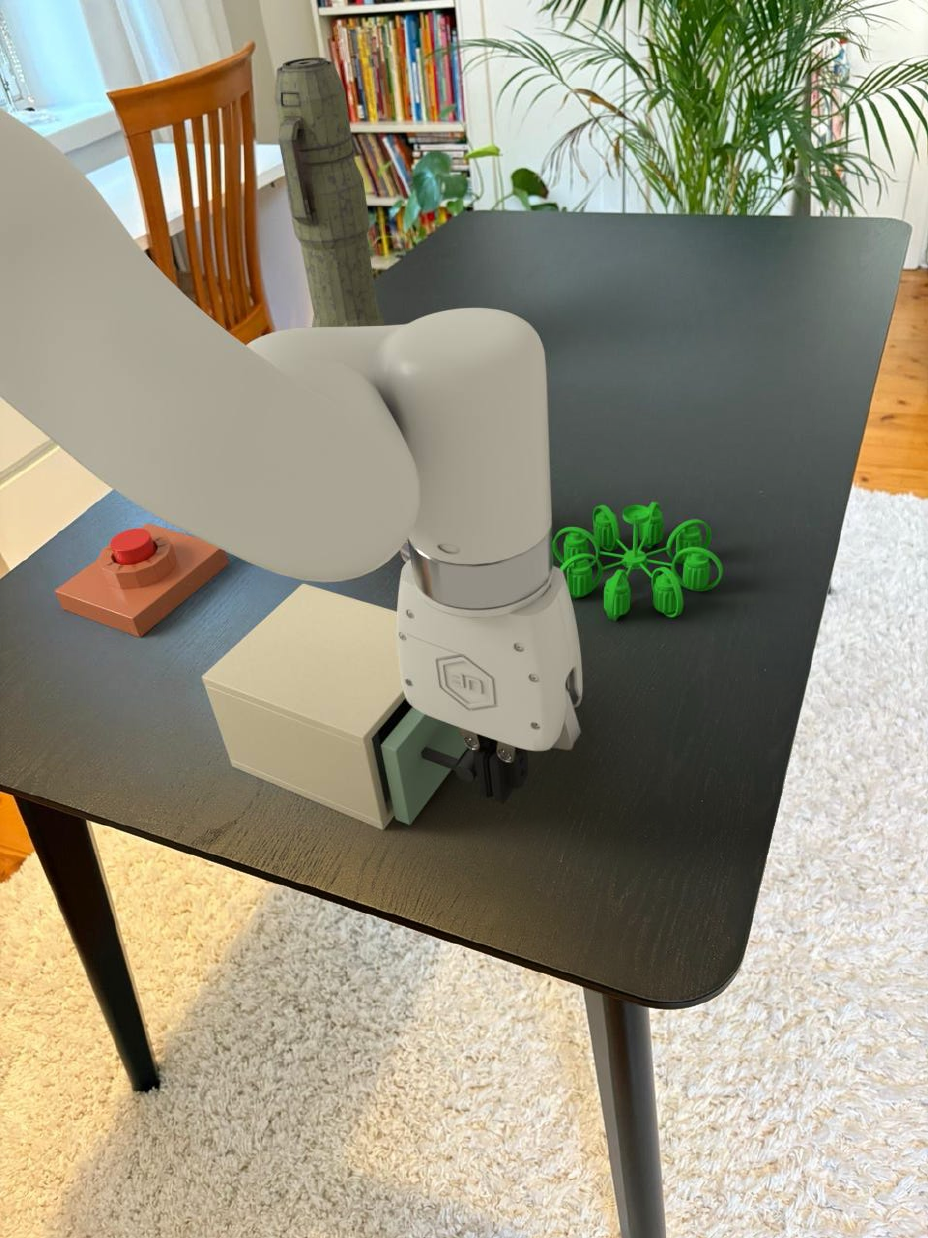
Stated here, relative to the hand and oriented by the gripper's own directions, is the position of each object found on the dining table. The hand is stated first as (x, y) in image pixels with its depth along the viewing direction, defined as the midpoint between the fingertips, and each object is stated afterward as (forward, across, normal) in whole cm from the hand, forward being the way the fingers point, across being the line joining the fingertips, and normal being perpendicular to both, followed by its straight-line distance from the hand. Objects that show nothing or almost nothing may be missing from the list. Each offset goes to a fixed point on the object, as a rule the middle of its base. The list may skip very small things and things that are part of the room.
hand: (503, 784), depth 63 cm
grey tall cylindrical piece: (+5, -52, +56) cm, 77 cm away
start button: (+1, -44, +10) cm, 45 cm away
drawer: (+4, -10, +2) cm, 11 cm away
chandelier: (+5, -3, +30) cm, 30 cm away
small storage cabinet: (+5, -14, +2) cm, 15 cm away
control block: (+5, -44, +10) cm, 45 cm away
